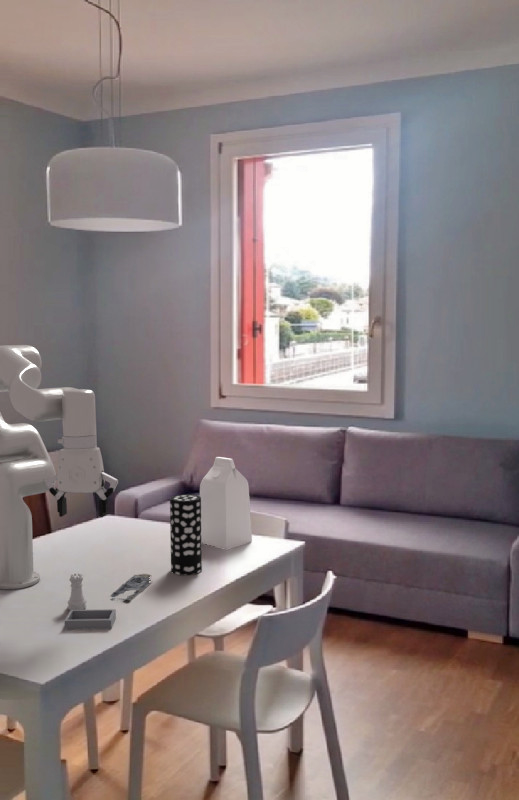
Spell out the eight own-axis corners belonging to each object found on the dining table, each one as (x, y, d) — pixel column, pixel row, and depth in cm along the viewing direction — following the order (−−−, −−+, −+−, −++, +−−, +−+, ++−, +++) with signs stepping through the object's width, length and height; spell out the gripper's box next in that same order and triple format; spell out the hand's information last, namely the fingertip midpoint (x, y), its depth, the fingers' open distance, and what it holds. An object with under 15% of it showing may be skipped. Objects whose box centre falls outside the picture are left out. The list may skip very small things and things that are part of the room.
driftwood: (136, 576, 216) (136, 568, 216) (160, 578, 214) (160, 570, 214) (103, 603, 196) (103, 595, 196) (129, 606, 194) (129, 597, 194)
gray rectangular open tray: (64, 629, 177) (64, 620, 177) (70, 618, 184) (70, 609, 184) (111, 628, 178) (111, 620, 178) (115, 617, 184) (115, 609, 184)
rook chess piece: (67, 605, 192) (66, 573, 192) (86, 604, 193) (85, 571, 193) (67, 612, 188) (66, 578, 187) (86, 610, 189) (86, 577, 188)
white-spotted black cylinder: (182, 564, 225) (181, 493, 223) (207, 568, 221) (206, 496, 219) (164, 572, 218) (163, 499, 216) (190, 577, 214) (189, 502, 212)
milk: (252, 541, 248) (251, 457, 245) (226, 549, 239) (225, 462, 237) (223, 534, 256) (222, 453, 253) (197, 542, 247) (196, 458, 244)
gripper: (38, 445, 185) (41, 519, 186) (111, 445, 182) (114, 519, 184) (50, 440, 192) (53, 511, 193) (121, 440, 190) (123, 512, 191)
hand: (83, 515), depth 189 cm, fingers open, 9 cm apart
